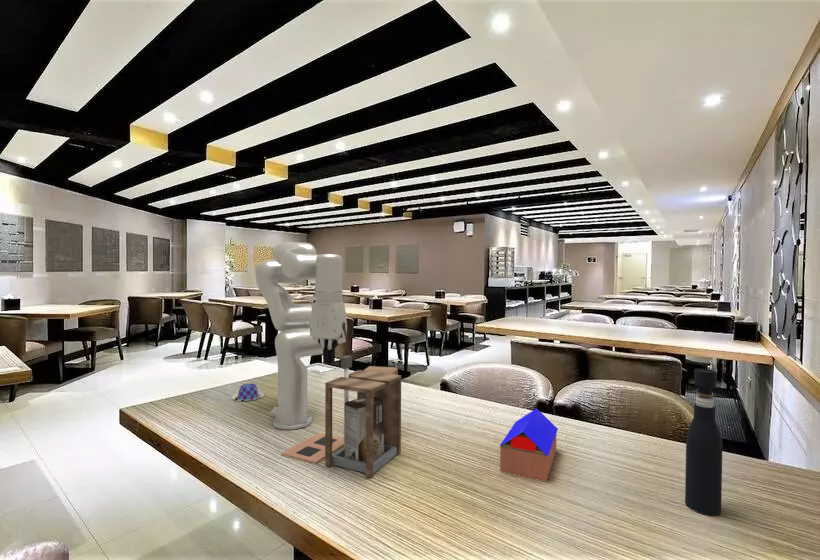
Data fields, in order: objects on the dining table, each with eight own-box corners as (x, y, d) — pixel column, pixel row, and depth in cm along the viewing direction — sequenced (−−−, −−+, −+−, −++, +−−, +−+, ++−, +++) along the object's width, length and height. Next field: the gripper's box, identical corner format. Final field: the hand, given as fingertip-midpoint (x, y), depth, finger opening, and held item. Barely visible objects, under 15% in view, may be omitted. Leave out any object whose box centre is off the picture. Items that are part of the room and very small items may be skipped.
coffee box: (370, 451, 116) (370, 394, 115) (384, 458, 111) (385, 399, 111) (343, 461, 109) (343, 401, 109) (358, 469, 105) (358, 407, 104)
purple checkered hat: (255, 403, 158) (255, 389, 158) (226, 401, 160) (226, 388, 160) (269, 394, 170) (269, 381, 170) (241, 393, 172) (241, 380, 172)
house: (557, 451, 117) (558, 411, 116) (547, 483, 99) (548, 435, 99) (515, 443, 122) (515, 405, 122) (498, 472, 104) (499, 427, 104)
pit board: (281, 455, 113) (281, 452, 113) (318, 434, 127) (318, 432, 127) (315, 464, 107) (315, 461, 107) (350, 442, 122) (350, 439, 122)
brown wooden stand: (325, 466, 106) (325, 382, 106) (358, 443, 120) (359, 369, 120) (371, 478, 100) (371, 389, 100) (400, 453, 114) (401, 375, 114)
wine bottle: (678, 499, 92) (680, 367, 91) (704, 498, 92) (707, 366, 92) (700, 516, 85) (703, 374, 85) (729, 515, 86) (731, 373, 85)
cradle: (329, 463, 107) (329, 360, 107) (356, 444, 119) (357, 352, 119) (372, 474, 101) (373, 366, 101) (396, 454, 113) (397, 356, 113)
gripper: (299, 297, 115) (299, 362, 115) (342, 299, 108) (342, 368, 108) (316, 296, 121) (316, 358, 122) (358, 298, 115) (358, 362, 115)
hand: (328, 362), depth 115 cm, fingers closed
